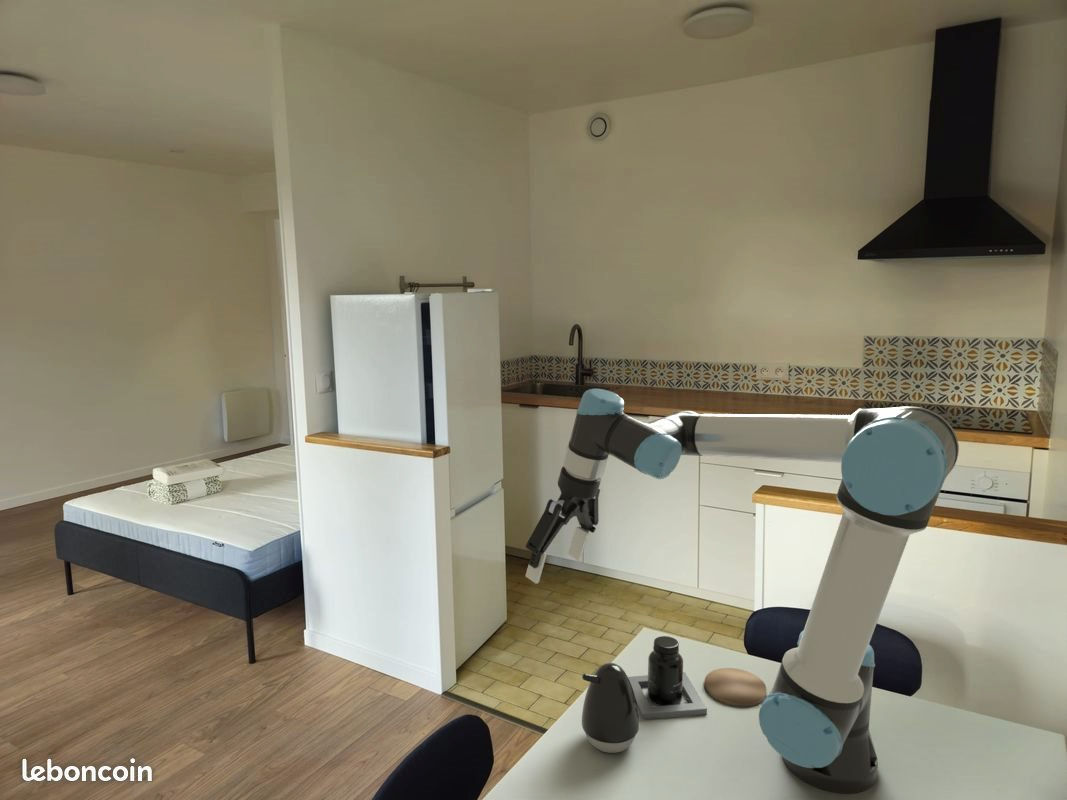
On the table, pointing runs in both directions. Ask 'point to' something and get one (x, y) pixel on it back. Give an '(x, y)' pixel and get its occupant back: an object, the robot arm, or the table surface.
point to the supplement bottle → (665, 672)
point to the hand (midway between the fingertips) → (553, 568)
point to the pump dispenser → (610, 709)
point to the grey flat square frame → (667, 711)
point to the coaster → (735, 687)
